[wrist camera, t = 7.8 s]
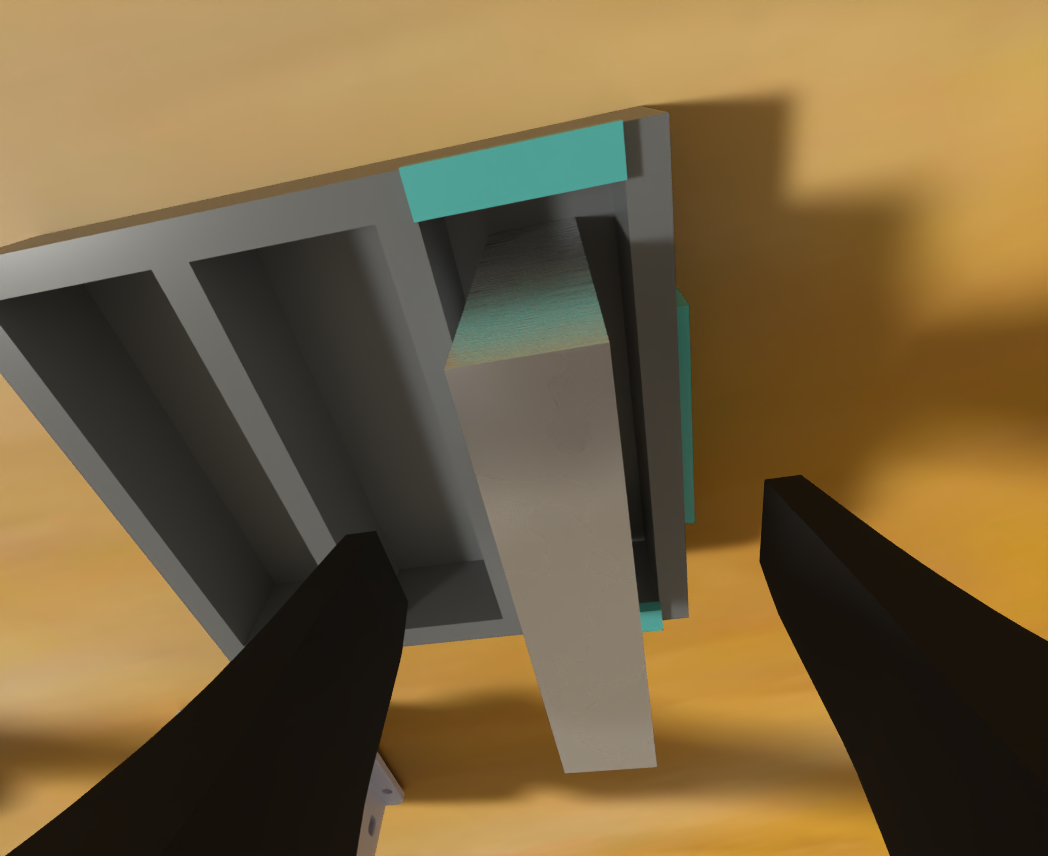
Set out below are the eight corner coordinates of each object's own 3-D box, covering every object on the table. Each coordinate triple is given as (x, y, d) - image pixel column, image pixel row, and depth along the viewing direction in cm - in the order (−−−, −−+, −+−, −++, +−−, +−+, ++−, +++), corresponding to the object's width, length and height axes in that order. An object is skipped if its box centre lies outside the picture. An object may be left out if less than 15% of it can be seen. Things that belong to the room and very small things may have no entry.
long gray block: (616, 535, 17) (656, 766, 12) (555, 543, 18) (565, 773, 12) (574, 216, 12) (609, 342, 6) (488, 233, 12) (443, 369, 6)
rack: (676, 543, 18) (701, 626, 15) (271, 591, 20) (228, 673, 17) (654, 100, 11) (691, 105, 9) (37, 233, 13) (-98, 273, 10)
